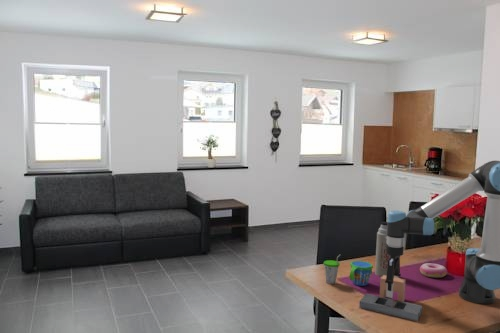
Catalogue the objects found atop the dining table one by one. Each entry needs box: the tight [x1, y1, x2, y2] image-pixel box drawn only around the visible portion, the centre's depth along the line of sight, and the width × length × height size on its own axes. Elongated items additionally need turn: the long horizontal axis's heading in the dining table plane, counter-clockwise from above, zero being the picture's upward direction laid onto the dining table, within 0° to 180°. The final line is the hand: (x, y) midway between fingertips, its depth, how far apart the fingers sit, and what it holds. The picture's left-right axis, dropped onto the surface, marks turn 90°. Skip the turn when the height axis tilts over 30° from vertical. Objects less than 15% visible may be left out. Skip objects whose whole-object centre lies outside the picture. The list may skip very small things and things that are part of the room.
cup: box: [323, 254, 342, 285], centre depth 223 cm, size 8×8×15 cm
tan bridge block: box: [379, 275, 406, 302], centre depth 203 cm, size 10×5×10 cm, turn 60°
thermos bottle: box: [374, 221, 390, 278], centre depth 236 cm, size 8×8×28 cm
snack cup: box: [348, 260, 373, 287], centre depth 223 cm, size 16×10×10 cm
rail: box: [358, 293, 423, 322], centre depth 193 cm, size 24×10×3 cm, turn 60°
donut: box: [419, 262, 448, 279], centre depth 239 cm, size 14×13×5 cm
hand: (392, 293), depth 204 cm, fingers open, 10 cm apart
